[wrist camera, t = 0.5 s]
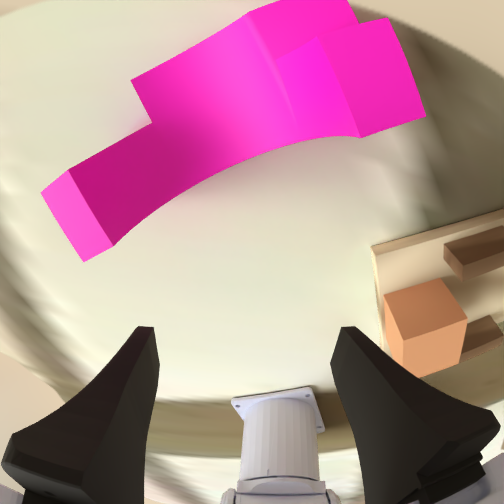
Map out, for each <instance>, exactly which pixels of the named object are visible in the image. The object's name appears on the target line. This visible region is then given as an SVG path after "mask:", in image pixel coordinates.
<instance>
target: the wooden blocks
mask: <svg viewBox="0 0 504 504" xmlns="http://www.w3.org/2000/svg"><path fill="white" fill-rule="evenodd" d="M443 246H444V250H443V259H444V260H445V261H446V263H447V264H448V265H449V266H450V268H451V269H452V270H453V271H454V273H455V274H456V275H457V276H458V278H459V279H460V280H461V281H462V282H463V281H466V280H469V279H471V278H474V277H477V276H480V275H482V274H485V273H488V272H490V271H493V270H495V269H498V268H500V267H503V266H504V226H502V225H501V226H498V227H495V228H492V229H489V230H486V231H483V232H480V233H477V234H474V235H470V236H467V237H464V238H461V239H458V240H454V241H451V242H448V243H445V244H443ZM503 337H504V335H503V333H502V332H501V330H500V329H499V327H498V326H497V324H496V323H495V322H494V320H493V319H492V317H491V316H490V314H489V315H487V316H485V317H482V318H480V319H477V320H475V321H473V322H470V323H467V326H466V332H465V337H464V341H463V346H462V351H461V355H460V359H459V363H461V362H464V361H466V360H469V359H471V358H473V357H476V356H478V355H480V354H483V353H485V352H487V351H489V350H491V349H494V348H496V347H498V346H500V345H501V343H502V340H503ZM459 363H458V364H459ZM453 366H454V365H453ZM450 367H451V366H450Z"/></svg>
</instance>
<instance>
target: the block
mask: <svg viewBox="0 0 504 504" xmlns="http://www.w3.org/2000/svg"><path fill="white" fill-rule="evenodd" d="M383 298H384V311H385V327H386V340H387V343H388V345H389V348H390V351H391V354H392V357H393V360H395V361H396V362H397V363H398V364H400V365H401V366H402V367H404V368H405V369H406V370H408V371H409V372H410V373H412V374H413V375H414V376H416V377H417V378H420V377H423V376H426V375H429V374H431V373H434V372H437V371H440V370H443V369H445V368H448V367H450V366H453V365H456V364H458V363H459V359H460V355H461V351H462V346H463V341H464V337H465V332H466V326H467V321H468V317H467V316H466V314H465V313H464V311H463V310H462V308H461V307H460V305H459V304H458V302H457V301H456V299H455V298H454V297H453V295H452V294H451V292H450V291H449V289H448V288H447V287H446V285H445V284H444V282H443V281H442V280H441V278H437V279H434V280H431V281H428V282H424V283H421V284H418V285H415V286H411V287H408V288H405V289H401V290H398V291H395V292H391V293H388V294H384V295H383Z"/></svg>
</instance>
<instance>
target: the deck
mask: <svg viewBox="0 0 504 504" xmlns="http://www.w3.org/2000/svg"><path fill="white" fill-rule="evenodd" d="M501 225H502V226H504V209H501V210H498V211H494V212H491V213H488V214H484V215H481V216H478V217H474V218H471V219H468V220H464V221H461V222H457V223H454V224H450V225H447V226H443V227H440V228H437V229H433V230H429V231H426V232H422V233H419V234H415V235H412V236H408V237H405V238H401V239H397V240H394V241H390V242H386V243H383V244H379V245H375V246H372V247H370V248H371V255H372V262H373V270H374V278H375V287H376V297H377V307H378V318H379V332H380V348H381V349H382V350H383V351H384V352H385V353H386V354H388V355H389V356H390V357H391V358H392V359H393V357H392V354H391V351H390V348H389V345H388V343H387V340H386V327H385V311H384V298H383V295H384V294H388V293H391V292H395V291H398V290H401V289H405V288H408V287H411V286H415V285H418V284H421V283H424V282H428V281H431V280H434V279H437V278H441V280H442V281H443V282H444V284H445V285H446V287H447V288H448V289H449V291H450V292H451V294H452V295H453V297H454V298H455V299H456V301H457V302H458V304H459V305H460V307H461V308H462V310H463V311H464V313H465V314H466V316H467V317H468V321H467V323H470V322H473V321H475V320H477V319H480V318H482V317H485V316H487V315H489V314H490V316H491V317H492V319H493V320H494V322H495V323H496V324H497V323H500V322H502V321H504V266H503V267H500V268H498V269H495V270H493V271H490V272H488V273H485V274H482V275H480V276H477V277H474V278H471V279H469V280H466V281H463V282H462V281H461V280H460V279H459V278H458V276H457V275H456V274H455V273H454V271H453V270H452V269H451V268H450V266H449V265H448V264H447V263H446V261H445V260H444V259H443V250H444V246H443V244H445V243H448V242H451V241H454V240H458V239H461V238H464V237H467V236H470V235H474V234H477V233H480V232H483V231H486V230H489V229H492V228H495V227H498V226H501Z"/></svg>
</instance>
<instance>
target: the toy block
mask: <svg viewBox="0 0 504 504" xmlns="http://www.w3.org/2000/svg"><path fill="white" fill-rule="evenodd" d="M131 82H132V84H133V86H134V88H135V90H136V92H137V94H138V96H139V98H140V100H141V102H142V104H143V105H144V107H145V109H146V111H147V113H148V115H149V117H150V119H151V121H152V123H151V124H149V125H147V126H145V127H144V128H142V129H140V130H138V131H136V132H134V133H133V134H131V135H129V136H127V137H125V138H124V139H122V140H120V141H118V142H117V143H115V144H113V145H111V146H109V147H108V148H106V149H104V150H102V151H101V152H99V153H97V154H95V155H93V156H92V157H90V158H88V159H86V160H85V161H83V162H81V163H79V164H77V165H76V166H74V167H72V168H70V169H68V170H67V171H66V172H65V173H63V174H62V175H61V176H60V177H58V178H57V179H56V180H55V181H54V182H52V183H51V184H50V185H49V186H48V187H47V188H45V189H44V190H43V191H42V192H41V194H42V196H43V198H44V200H45V202H46V203H47V205H48V207H49V208H50V210H51V212H52V214H53V215H54V217H55V219H56V220H57V222H58V224H59V225H60V227H61V228H62V230H63V232H64V233H65V235H66V236H67V238H68V239H69V241H70V243H71V244H72V246H73V247H74V249H75V250H76V252H77V253H78V255H79V256H80V258H81V259H82V261H83V262H85V261H87V260H89V259H91V258H92V257H94V256H96V255H98V254H100V253H102V252H104V251H106V250H107V249H109V248H111V247H113V246H114V245H115V244H116V243H117V242H118V241H119V240H120V239H121V238H122V237H124V236H125V235H126V234H127V233H128V232H129V231H130V230H131V229H132V228H134V227H135V226H136V225H137V224H138V223H140V222H141V221H142V220H143V219H145V218H146V217H147V216H149V215H150V214H151V213H153V212H154V211H155V210H157V209H158V208H160V207H161V206H162V205H164V204H165V203H167V202H168V201H170V200H171V199H173V198H174V197H176V196H178V195H179V194H181V193H182V192H184V191H186V190H187V189H189V188H191V187H192V186H194V185H196V184H198V183H199V182H201V181H203V180H205V179H207V178H209V177H211V176H213V175H214V174H216V173H218V172H220V171H222V170H225V169H227V168H229V167H231V166H233V165H235V164H238V163H240V162H242V161H244V160H247V159H249V158H252V157H254V156H257V155H259V154H262V153H265V152H268V151H270V150H273V149H276V148H279V147H283V146H286V145H290V144H293V143H297V142H301V141H305V140H310V139H315V138H321V137H330V136H352V137H358V138H363V137H366V136H368V135H371V134H374V133H377V132H380V131H383V130H386V129H389V128H392V127H395V126H398V125H401V124H404V123H407V122H410V121H413V120H416V119H419V118H423V117H426V114H425V111H424V108H423V105H422V102H421V98H420V95H419V92H418V90H417V87H416V84H415V81H414V78H413V76H412V73H411V70H410V68H409V65H408V62H407V60H406V57H405V55H404V53H403V50H402V48H401V45H400V43H399V41H398V39H397V36H396V34H395V32H394V30H393V28H392V26H391V23H390V21H389V19H388V17H387V18H382V19H378V20H373V21H369V22H365V23H361V24H359V22H358V20H357V18H356V16H355V14H354V12H353V10H352V9H351V7H350V5H349V3H348V1H347V0H279V1H276V2H274V3H271V4H268V5H265V6H262V7H260V8H257V9H255V10H252V11H250V12H248V13H247V14H245V15H244V16H242V17H241V18H239V19H238V20H236V21H235V22H233V23H232V24H230V25H229V26H227V27H225V28H224V29H222V30H220V31H219V32H217V33H216V34H214V35H212V36H210V37H209V38H207V39H205V40H204V41H202V42H200V43H198V44H197V45H195V46H193V47H191V48H190V49H188V50H186V51H184V52H182V53H181V54H179V55H177V56H175V57H173V58H172V59H170V60H168V61H166V62H164V63H162V64H160V65H159V66H157V67H155V68H153V69H151V70H149V71H147V72H145V73H143V74H142V75H140V76H138V77H136V78H134V79H132V80H131Z"/></svg>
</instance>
